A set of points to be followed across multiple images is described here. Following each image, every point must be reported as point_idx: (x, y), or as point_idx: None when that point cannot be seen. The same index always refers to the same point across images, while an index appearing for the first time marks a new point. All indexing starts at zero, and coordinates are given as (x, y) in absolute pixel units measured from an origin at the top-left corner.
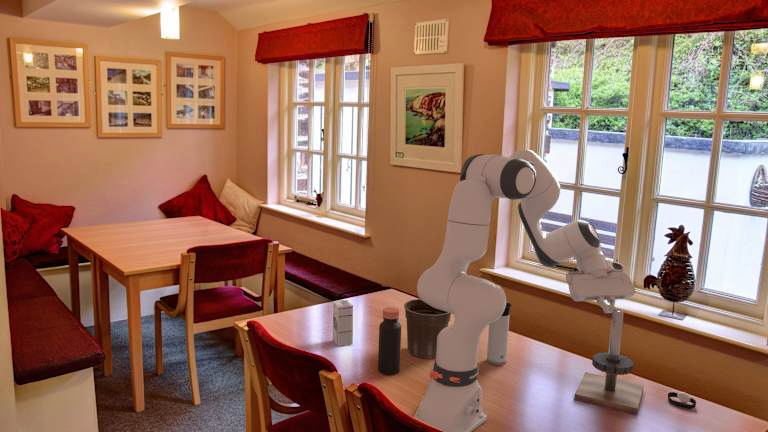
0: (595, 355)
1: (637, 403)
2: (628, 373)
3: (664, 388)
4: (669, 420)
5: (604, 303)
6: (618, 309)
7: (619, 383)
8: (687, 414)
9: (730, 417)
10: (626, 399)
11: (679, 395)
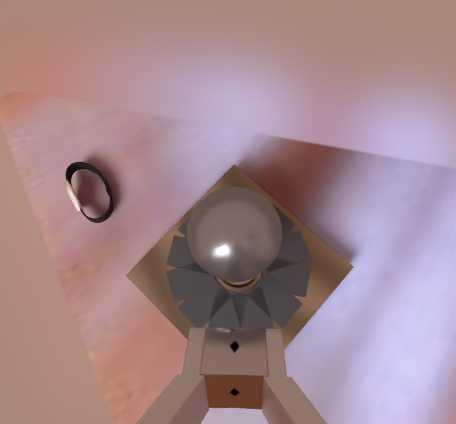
0: (281, 319)
1: (217, 185)
2: None
3: (65, 277)
4: (177, 138)
5: (297, 397)
6: (206, 267)
7: None
8: (117, 152)
9: (37, 125)
10: None
11: (79, 204)
